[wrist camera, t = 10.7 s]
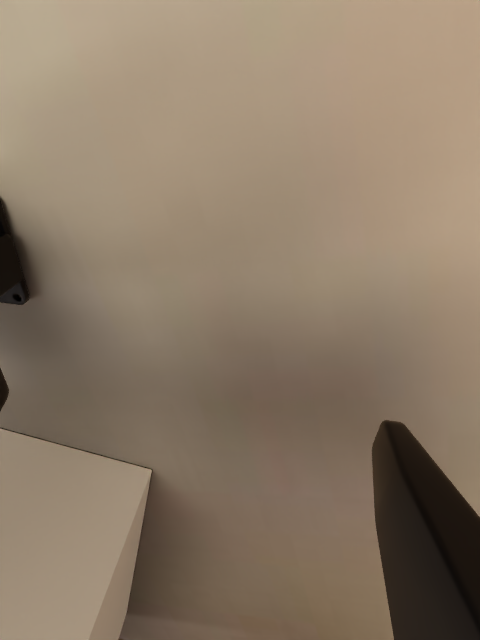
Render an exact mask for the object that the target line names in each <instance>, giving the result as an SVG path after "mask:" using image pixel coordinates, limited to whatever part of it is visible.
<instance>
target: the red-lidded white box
mask: <svg viewBox="0 0 480 640" xmlns="http://www.w3.org/2000/svg"><path fill="white" fill-rule="evenodd" d="M151 473H152V470H151V469H147V468H143V467H140V466H136V465H132V464H129V463H125V462H121V461H118V460H114V459H110V458H107V457H103V456H99V455H96V454H92V453H88V452H85V451H81V450H77V449H73V448H70V447H66V446H62V445H59V444H55V443H51V442H48V441H44V440H40V439H37V438H33V437H29V436H26V435H22V434H18V433H15V432H11V431H7V430H4V429H0V640H118V639H119V636H120V632H121V629H122V626H123V623H124V620H125V617H126V614H127V608H128V602H129V597H130V591H131V586H132V580H133V574H134V569H135V563H136V557H137V552H138V546H139V540H140V535H141V529H142V524H143V518H144V512H145V507H146V501H147V495H148V490H149V484H150V478H151Z"/></svg>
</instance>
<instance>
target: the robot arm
mask: <svg viewBox="0 0 480 640" xmlns="http://www.w3.org/2000/svg"><path fill="white" fill-rule="evenodd" d="M18 295H19V296H20V297H19V296H18ZM28 300H29V293H28V289H27V286H26V283H25V279H24V276H23V273H22V270H21V266H20V263H19V260H18V256H17V253H16V250H15V246H14V243H13V240H12V236H11V233H10V230H9V226H8V223H7V220H6V217H5V213H4V210H3V207H2V204H1V201H0V302H1V303H9V304H17V305H23V304H24V303H26V302H27V301H28ZM8 394H9V388H8V385H7V383H6V380H5V378H4V375H3V373H2V370H1V368H0V411H1V409H2V407H3V405H4V404H5V402H6V400H7V398H8ZM372 465H373V486H374V507H375V522H376V529H377V536H378V542H379V549H380V555H381V561H382V567H383V573H384V579H385V586H386V592H387V598H388V604H389V610H390V617H391V623H392V629H393V635H394V640H480V517H479V516H478V515H477V513H476V512H475V511H474V510H473V508H472V507H471V506H470V505H469V503H468V502H467V501H466V500H465V499H464V497H463V496H462V495H461V494H460V492H459V491H458V490H457V489H456V487H455V486H454V485H453V484H452V482H451V481H450V480H449V479H448V478H447V476H446V475H445V474H444V473H443V471H442V470H441V469H440V468H439V466H438V465H437V464H436V463H435V462H434V460H433V459H432V458H431V457H430V455H429V454H428V453H427V452H426V450H425V449H424V448H423V447H422V446H421V444H420V443H419V442H418V441H417V439H416V438H415V437H414V436H413V434H412V433H411V432H410V431H409V429H408V428H407V427H406V426H405V425H404V424H403V423H401V422H396V421H389V420H384V421H383V422H382V423H381V425H380V427H379V430H378V432H377V435H376V437H375V440H374V443H373V446H372Z"/></svg>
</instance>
